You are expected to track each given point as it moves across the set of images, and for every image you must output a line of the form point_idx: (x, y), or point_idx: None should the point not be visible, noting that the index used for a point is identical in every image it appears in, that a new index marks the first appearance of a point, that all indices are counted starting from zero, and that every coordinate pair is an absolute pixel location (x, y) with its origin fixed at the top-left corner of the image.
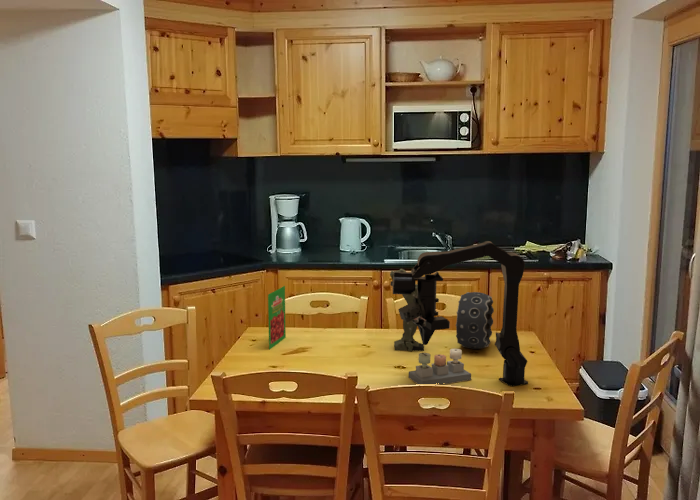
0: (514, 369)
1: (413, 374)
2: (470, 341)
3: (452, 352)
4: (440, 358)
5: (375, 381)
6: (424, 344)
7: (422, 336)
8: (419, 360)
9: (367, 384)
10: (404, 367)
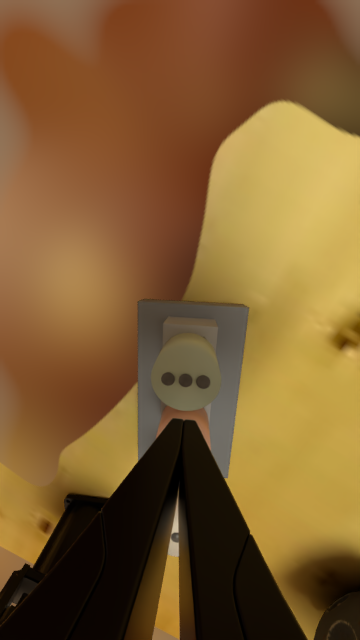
0: (42, 560)
1: (211, 307)
2: (350, 632)
3: None
4: (157, 432)
5: (272, 164)
6: (171, 422)
7: (185, 492)
8: (186, 336)
9: (259, 112)
10: (340, 344)
